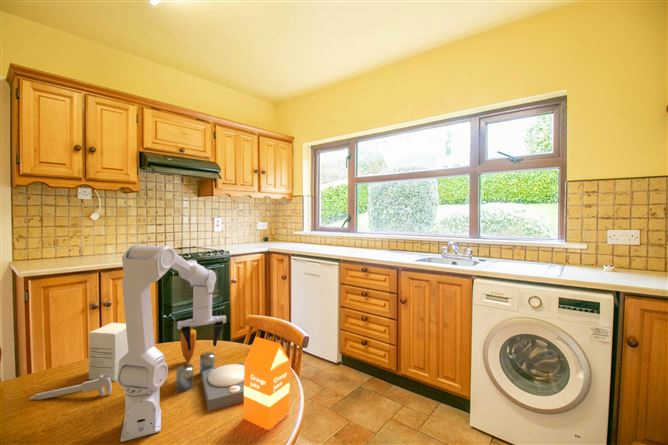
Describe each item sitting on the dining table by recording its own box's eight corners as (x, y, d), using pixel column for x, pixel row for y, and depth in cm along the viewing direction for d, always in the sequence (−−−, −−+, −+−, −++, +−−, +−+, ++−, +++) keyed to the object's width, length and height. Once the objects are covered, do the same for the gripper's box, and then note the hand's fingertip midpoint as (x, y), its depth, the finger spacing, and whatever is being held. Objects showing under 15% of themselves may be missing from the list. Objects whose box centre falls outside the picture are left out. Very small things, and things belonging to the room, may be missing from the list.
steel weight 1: (193, 389, 92) (193, 369, 92) (176, 393, 90) (176, 373, 90) (192, 382, 96) (192, 363, 96) (175, 385, 94) (176, 366, 93)
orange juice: (264, 403, 86) (265, 332, 86) (289, 414, 81) (290, 339, 81) (242, 418, 79) (244, 341, 79) (268, 431, 75) (270, 349, 74)
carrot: (177, 364, 107) (177, 321, 106) (187, 358, 112) (187, 316, 111) (189, 366, 106) (190, 322, 105) (198, 359, 110) (199, 318, 110)
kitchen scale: (260, 397, 89) (261, 384, 88) (208, 411, 82) (208, 397, 82) (247, 370, 103) (247, 359, 103) (201, 380, 97) (202, 368, 97)
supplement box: (111, 365, 105) (111, 322, 104) (135, 367, 104) (136, 323, 104) (87, 379, 96) (87, 331, 95) (114, 382, 95) (114, 333, 95)
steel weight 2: (215, 375, 100) (215, 356, 100) (200, 378, 98) (200, 359, 98) (213, 368, 104) (213, 351, 104) (199, 371, 102) (199, 353, 102)
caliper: (111, 394, 89) (112, 373, 89) (109, 396, 88) (110, 374, 88) (32, 398, 86) (32, 376, 86) (28, 401, 85) (28, 378, 85)
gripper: (223, 300, 108) (223, 338, 108) (177, 305, 101) (176, 346, 101) (227, 305, 102) (226, 346, 102) (178, 311, 95) (177, 355, 95)
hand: (202, 347), depth 101 cm, fingers open, 7 cm apart
